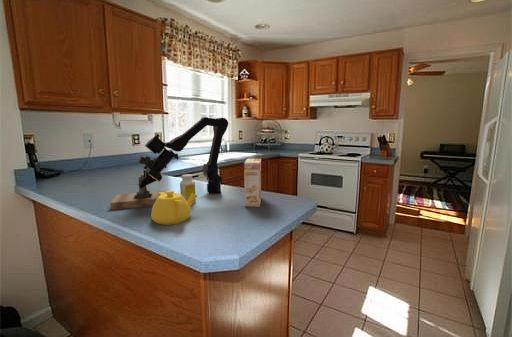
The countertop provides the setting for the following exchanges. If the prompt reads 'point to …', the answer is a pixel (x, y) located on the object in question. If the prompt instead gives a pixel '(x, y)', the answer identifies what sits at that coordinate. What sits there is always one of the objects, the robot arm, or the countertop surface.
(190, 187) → the supplement bottle
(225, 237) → the countertop surface
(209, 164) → the robot arm
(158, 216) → the teapot
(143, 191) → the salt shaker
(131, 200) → the board
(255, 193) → the coffeecake box
